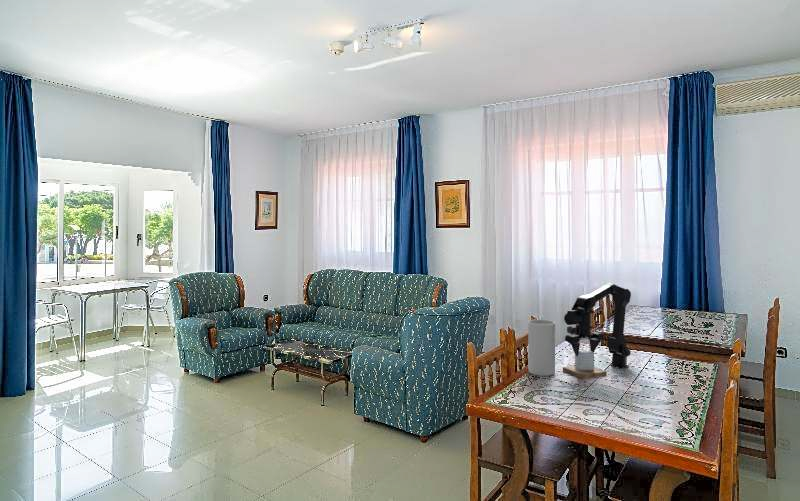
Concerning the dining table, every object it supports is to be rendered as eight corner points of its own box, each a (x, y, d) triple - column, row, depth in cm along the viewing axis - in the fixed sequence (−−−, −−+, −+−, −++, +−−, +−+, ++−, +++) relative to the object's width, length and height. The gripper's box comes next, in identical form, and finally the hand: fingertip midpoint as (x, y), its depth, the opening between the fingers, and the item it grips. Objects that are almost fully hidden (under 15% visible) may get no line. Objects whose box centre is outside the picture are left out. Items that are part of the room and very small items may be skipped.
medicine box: (591, 368, 235) (591, 350, 235) (594, 370, 231) (594, 352, 230) (574, 367, 236) (574, 350, 235) (577, 370, 231) (577, 352, 231)
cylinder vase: (552, 369, 241) (552, 319, 240) (557, 376, 229) (557, 324, 227) (526, 368, 242) (526, 319, 241) (530, 376, 230) (530, 324, 229)
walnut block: (585, 367, 242) (585, 363, 242) (606, 375, 229) (606, 371, 229) (562, 371, 237) (562, 367, 237) (582, 379, 224) (582, 375, 224)
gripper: (587, 318, 243) (587, 349, 244) (557, 321, 236) (557, 353, 237) (604, 322, 233) (604, 354, 233) (573, 325, 226) (573, 358, 227)
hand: (584, 355), depth 233 cm, fingers open, 9 cm apart
